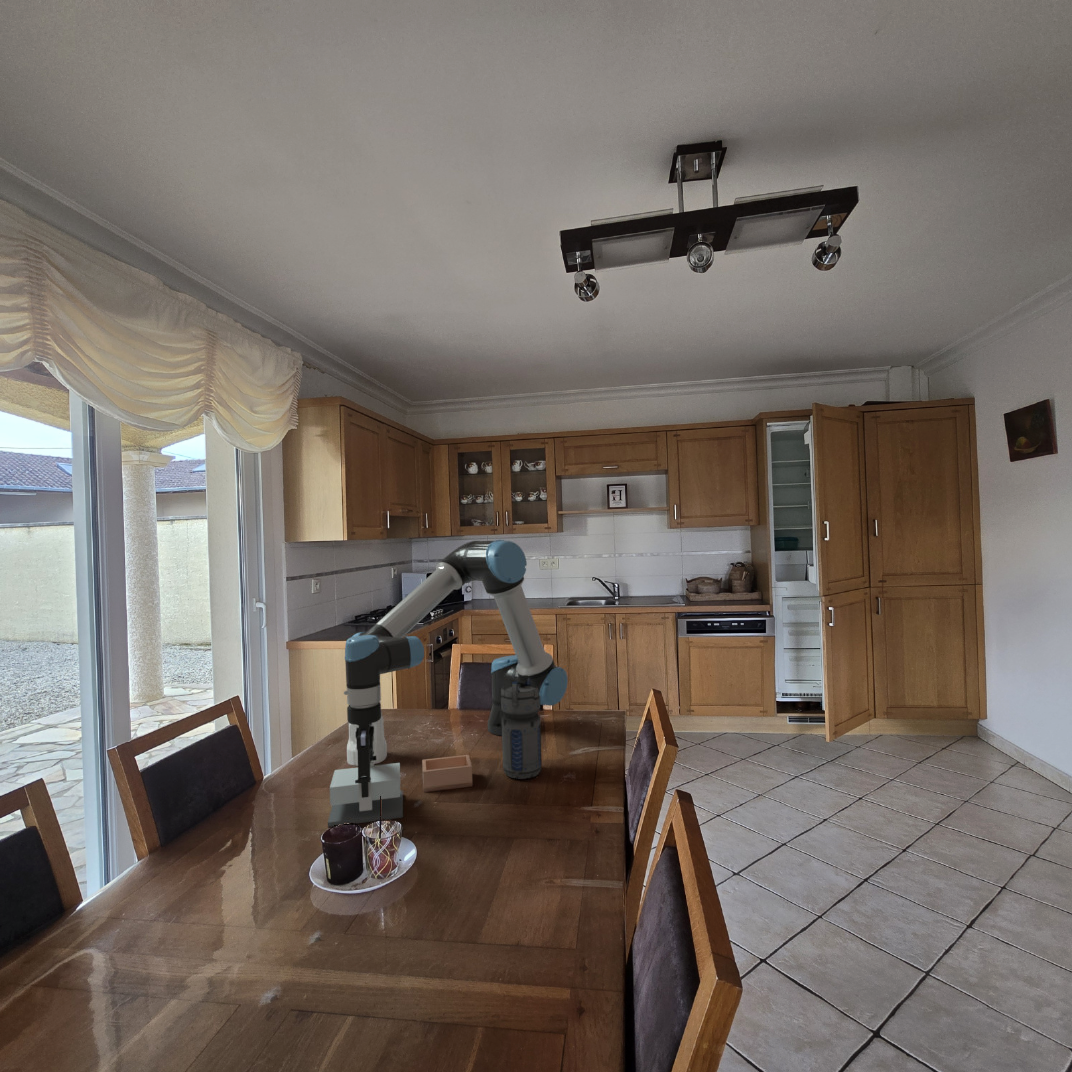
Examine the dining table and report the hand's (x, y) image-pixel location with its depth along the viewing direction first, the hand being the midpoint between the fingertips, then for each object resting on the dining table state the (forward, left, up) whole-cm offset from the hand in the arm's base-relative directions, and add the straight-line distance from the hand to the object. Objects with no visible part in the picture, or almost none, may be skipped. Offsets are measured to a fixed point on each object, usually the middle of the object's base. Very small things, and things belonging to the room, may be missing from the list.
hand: (367, 799), depth 138 cm
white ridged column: (+2, -33, -3) cm, 33 cm away
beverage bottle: (-39, -11, -3) cm, 41 cm away
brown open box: (-19, -10, -2) cm, 22 cm away
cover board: (0, 0, +2) cm, 2 cm away
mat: (0, 0, -2) cm, 2 cm away
